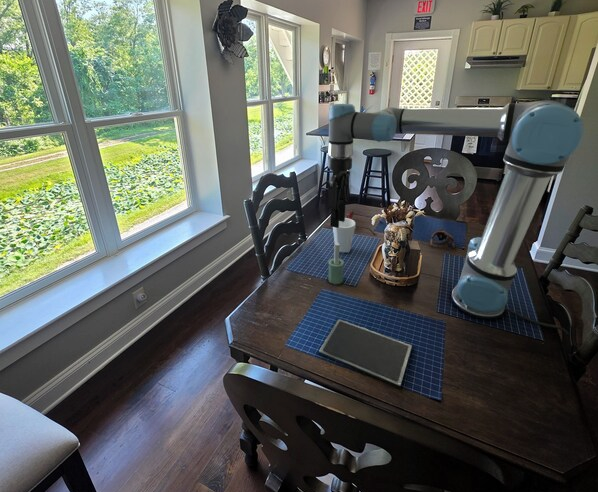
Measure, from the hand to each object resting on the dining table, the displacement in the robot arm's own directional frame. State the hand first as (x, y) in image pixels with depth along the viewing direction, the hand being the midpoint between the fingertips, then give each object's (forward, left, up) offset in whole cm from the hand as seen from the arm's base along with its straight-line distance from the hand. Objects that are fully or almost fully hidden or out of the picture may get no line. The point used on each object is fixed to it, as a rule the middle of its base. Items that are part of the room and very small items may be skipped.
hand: (337, 223), depth 109 cm
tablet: (-20, +25, -24) cm, 40 cm away
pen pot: (0, -1, -24) cm, 24 cm away
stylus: (0, -1, -23) cm, 23 cm away
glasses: (+6, -49, -24) cm, 55 cm away
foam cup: (+6, -23, -24) cm, 34 cm away
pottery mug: (-31, -46, -24) cm, 60 cm away
